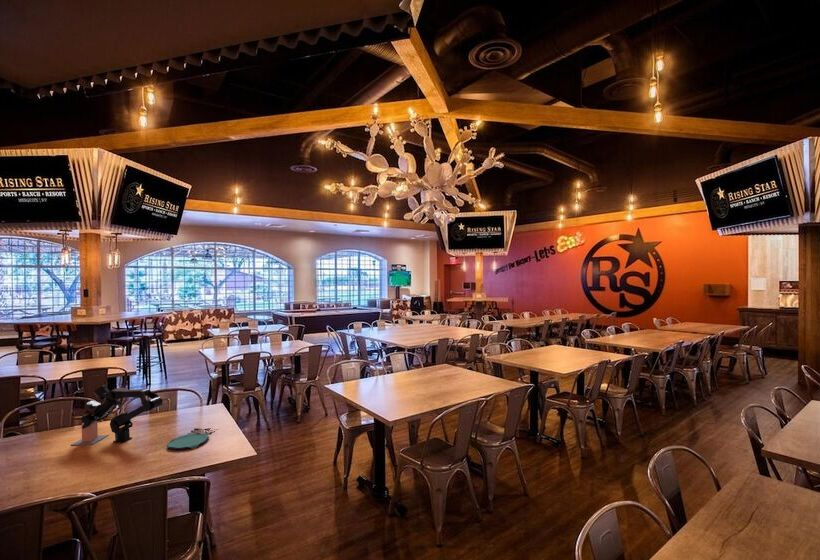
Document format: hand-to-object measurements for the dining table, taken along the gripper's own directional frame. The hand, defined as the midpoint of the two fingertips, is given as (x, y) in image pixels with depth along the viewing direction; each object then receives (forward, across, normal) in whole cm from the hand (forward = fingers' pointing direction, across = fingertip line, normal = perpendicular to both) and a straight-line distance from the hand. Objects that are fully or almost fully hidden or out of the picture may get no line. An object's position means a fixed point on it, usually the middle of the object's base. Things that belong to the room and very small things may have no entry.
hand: (87, 425), depth 224 cm
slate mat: (+5, 0, +7) cm, 9 cm away
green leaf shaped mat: (-37, +6, +50) cm, 63 cm away
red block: (+5, 0, +7) cm, 8 cm away
